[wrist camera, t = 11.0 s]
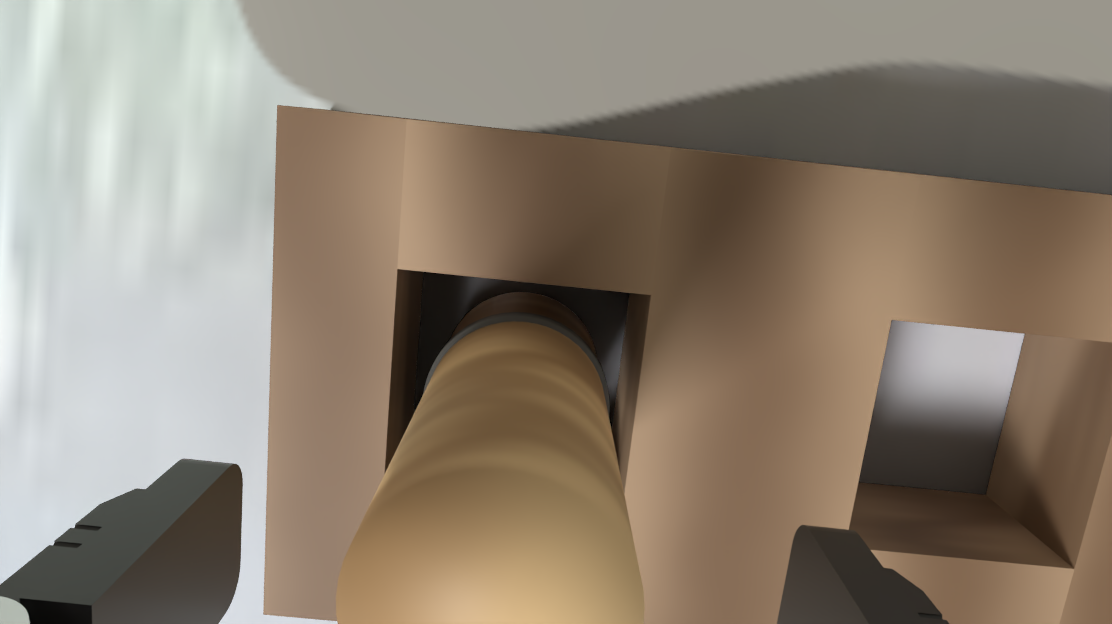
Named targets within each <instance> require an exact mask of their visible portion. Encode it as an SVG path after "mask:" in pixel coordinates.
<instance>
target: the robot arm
mask: <svg viewBox="0 0 1112 624" xmlns="http://www.w3.org/2000/svg"><path fill="white" fill-rule="evenodd" d="M242 486H243V482H242V473H241V469H240V467H239V466H238V465H237V464H231V463H221V462H212V461H202V460H193V459H181V460H180V461H178V462H177V463H176V464H175V465H173V466H172V467H171V468H170V469H169V470H168V471H166V472H165V473H164V474H163V475H162V476H161V477H160V478H158V479H157V480H156V481H155V482H154V483H153V484H151V485H150V486H149V487H148V488H147V489H146V490H145V489H134V490H132V491H130V492H127V493H125V494H123V495H120V496H118V497H116V498H113V499H111V500H109V501H106V502H104V503H102V504H100V505H99V506H97V507H96V508H95V509H94V510H92V511H91V512H90V513H89V514H87V515H86V516H85V517H84V518H82V519H81V520H80V521H79V522H77V523H76V525H75V528H70V529H69V530H68V531H66V532H65V533H64V534H63V535H61V536H60V537H59V538H58V539H56V540H55V543H54V545H53V546H52V545H49V546H48V547H46V548H45V549H44V550H43V551H42V552H40V553H39V554H38V555H37V556H35V557H34V558H33V559H32V560H30V561H29V562H28V563H27V564H25V565H24V566H23V567H22V568H20V569H19V570H18V571H17V572H15V573H14V574H13V575H12V576H11V577H9V578H8V579H7V580H6V581H4V582H3V583H2V584H1V585H0V624H218V623H219V622H220V620H221V619H222V617H223V616H224V614H225V613H226V611H227V610H228V608H229V606H230V604H231V602H232V599H233V597H234V594H235V590H236V587H237V583H238V578H239V572H240V559H241V523H242ZM777 624H949V623H948V621H947V620H943V619H942V614H941V613H940V611H939V610H938V609H937V608H936V606H935V605H934V604H933V603H932V601H931V600H930V599H929V598H928V596H927V595H926V594H925V593H924V591H923V590H921V589H920V588H918V587H917V586H916V585H914V584H913V583H911V582H910V581H909V580H907V579H906V578H904V577H903V576H902V575H900V574H899V573H897V572H896V571H895V570H893V569H891V568H884V567H883V566H882V565H881V563H880V562H879V561H878V559H877V558H876V557H875V555H874V554H873V553H872V551H871V550H870V549H869V547H868V546H867V545H866V543H865V542H864V541H863V539H862V538H861V537H860V535H859V534H858V533H857V532H856V531H854V530H847V529H838V528H828V527H819V526H809V525H801V526H800V527H799V528H798V529H797V531H796V533H795V535H794V538H793V543H792V547H791V553H790V558H789V563H788V568H787V573H786V578H785V584H784V589H783V594H782V599H781V604H780V609H779V615H778V620H777Z"/></svg>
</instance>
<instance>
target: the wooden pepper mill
mask: <svg viewBox="0 0 1112 624" xmlns="http://www.w3.org/2000/svg"><path fill="white" fill-rule="evenodd" d="M609 409H610V403H609V393H608V388H607V384H606V379H605V375H604V372H603V370H602V367H601V365H600V363H599V361H598V359H597V356H596V351H595V346H594V343H593V341H592V338H591V336H590V334H589V332H588V330H587V328H586V327H585V325H584V324H583V322H582V321H581V320H580V319H579V318H578V316H577V315H576V314H575V313H574V312H572V311H571V310H570V309H569V308H568V307H566V306H565V305H563V304H562V303H560V302H558V301H556V300H554V299H552V298H550V297H547V296H544V295H540V294H535V293H530V292H513V293H506V294H502V295H498V296H495V297H492V298H490V299H488V300H486V301H484V302H482V303H480V304H479V305H477V306H476V307H474V308H473V309H472V310H471V311H470V312H469V313H467V314H466V315H465V316H464V318H463V319H462V320H461V321H460V322H459V324H458V326H457V327H456V329H455V330H454V332H453V334H452V336H451V338H450V340H449V341H448V342H447V343H446V345H445V346H444V347H443V348H442V350H441V351H440V353H439V354H438V356H437V357H436V359H435V361H434V363H433V365H432V367H431V370H430V372H429V374H428V377H427V380H426V383H425V387H424V394H423V396H422V398H421V400H420V402H419V404H418V406H417V409H416V411H415V413H414V415H413V417H412V419H411V421H410V423H409V425H408V427H407V429H406V431H405V433H404V435H403V437H402V439H401V442H400V444H399V446H398V448H397V450H396V452H395V454H394V456H393V458H392V460H391V462H390V464H389V466H388V468H387V470H386V472H385V475H384V477H383V479H382V481H381V483H380V485H379V487H378V489H377V491H376V493H375V495H374V497H373V499H372V501H371V503H370V505H369V508H368V510H367V512H366V514H365V516H364V518H363V520H362V522H361V524H360V526H359V528H358V530H357V532H356V534H355V536H354V538H353V541H352V543H351V545H350V547H349V549H348V551H347V554H346V556H345V558H344V560H343V563H342V567H341V571H340V574H339V578H338V584H337V592H336V616H337V622H338V624H643V623H644V610H645V605H644V590H643V585H642V580H641V575H640V570H639V565H638V560H637V555H636V550H635V545H634V540H633V535H632V530H631V525H630V520H629V515H628V510H627V505H626V500H625V495H624V490H623V485H622V480H621V475H620V470H619V465H618V460H617V455H616V450H615V445H614V440H613V435H612V430H611V425H610V420H609Z"/></svg>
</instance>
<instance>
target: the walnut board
mask: <svg viewBox="0 0 1112 624" xmlns="http://www.w3.org/2000/svg"><path fill="white" fill-rule="evenodd" d="M424 272H432V273H441V274H451V275H461V276H470V277H480V278H490V279H500V280H509V281H519V282H529V283H539V284H548V285H558V286H568V287H577V288H587V289H597V290H607V291H616V292H626V293H629V301H628V308H627V316H626V324H625V332H624V339H623V347H622V355H621V363H620V370H619V378H618V386H617V394H616V402H615V409H614V417H613V425H612V435H613V440H614V445H615V450H616V455H617V460H618V465H619V470H620V475H621V480H622V485H623V490H624V495H625V500H626V505H627V510H628V515H629V520H630V525H631V530H632V535H633V540H634V545H635V550H636V555H637V560H638V565H639V570H640V575H641V580H642V585H643V590H644V605H645V610H644V623H643V624H777V620H778V615H779V609H780V604H781V599H782V594H783V589H784V584H785V578H786V573H787V568H788V563H789V558H790V553H791V547H792V543H793V538H794V535H795V533H796V531H797V529H798V528H799V527H800V526H801V525H809V526H819V527H828V528H838V529H847V530H854V531H856V532H857V533H858V534H859V535H860V537H861V538H862V539H863V541H864V542H865V543H866V545H867V546H868V547H869V549H870V550H871V551H872V553H873V554H874V555H875V557H876V558H877V559H878V561H879V562H880V563H881V565H882V566H883V567H884V568H891V569H893V570H895V571H896V572H897V573H899V574H900V575H902V576H903V577H904V578H906V579H907V580H909V581H910V582H911V583H913V584H914V585H916V586H917V587H918V588H920V589H921V590H923V591H924V593H925V594H926V595H927V596H928V598H929V599H930V600H931V601H932V603H933V604H934V605H935V606H936V608H937V609H938V610H939V611H940V613H941V614H942V619H943V620H947V621H948V623H949V624H1112V195H1109V194H1100V193H1091V192H1081V191H1072V190H1063V189H1054V188H1045V187H1035V186H1026V185H1017V184H1008V183H998V182H989V181H980V180H971V179H962V178H952V177H943V176H934V175H925V174H915V173H906V172H897V171H888V170H878V169H869V168H860V167H851V166H842V165H832V164H823V163H814V162H805V161H795V160H786V159H777V158H768V157H759V156H749V155H740V154H731V153H722V152H712V151H703V150H694V149H685V148H676V147H666V146H657V145H648V144H639V143H629V142H620V141H611V140H602V139H592V138H583V137H574V136H565V135H556V134H546V133H537V132H528V131H519V130H509V129H500V128H491V127H482V126H472V125H463V124H454V123H445V122H436V121H426V120H417V119H408V118H399V117H389V116H380V115H371V114H362V113H353V112H343V111H334V110H324V109H313V108H303V107H292V106H281V105H277V136H276V173H275V209H274V246H273V283H272V319H271V356H270V393H269V429H268V466H267V503H266V539H265V576H264V613H263V614H264V615H275V616H286V617H297V618H308V619H320V620H331V621H337V616H336V592H337V584H338V578H339V574H340V571H341V567H342V563H343V560H344V558H345V556H346V554H347V551H348V549H349V547H350V545H351V543H352V541H353V538H354V536H355V534H356V532H357V530H358V528H359V526H360V524H361V522H362V520H363V518H364V516H365V514H366V512H367V510H368V508H369V505H370V503H371V501H372V499H373V497H374V495H375V493H376V491H377V489H378V487H379V485H380V483H381V481H382V479H383V477H384V475H385V472H386V470H387V468H388V466H389V464H390V462H391V460H392V458H393V456H394V454H395V452H396V450H397V448H398V446H399V444H400V442H401V439H402V437H403V435H404V433H405V431H406V429H407V427H408V425H409V423H410V421H411V419H412V417H413V415H414V402H415V387H416V373H417V359H418V344H419V330H420V316H421V301H422V287H423V273H424ZM892 320H898V321H908V322H918V323H927V324H937V325H947V326H956V327H966V328H976V329H986V330H995V331H1005V332H1015V333H1025V336H1024V340H1023V344H1022V349H1021V353H1020V357H1019V361H1018V365H1017V369H1016V373H1015V377H1014V381H1013V385H1012V389H1011V394H1010V398H1009V402H1008V406H1007V410H1006V414H1005V418H1004V422H1003V426H1002V430H1001V435H1000V439H999V443H998V447H997V451H996V455H995V459H994V463H993V467H992V471H991V476H990V480H989V484H988V488H987V492H986V495H984V494H973V493H963V492H953V491H942V490H932V489H922V488H911V487H901V486H891V485H880V484H870V483H860V482H859V477H860V472H861V467H862V462H863V457H864V452H865V447H866V443H867V438H868V433H869V428H870V423H871V418H872V413H873V408H874V403H875V399H876V394H877V389H878V384H879V379H880V374H881V369H882V364H883V360H884V355H885V350H886V345H887V340H888V335H889V330H890V325H891V321H892Z"/></svg>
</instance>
